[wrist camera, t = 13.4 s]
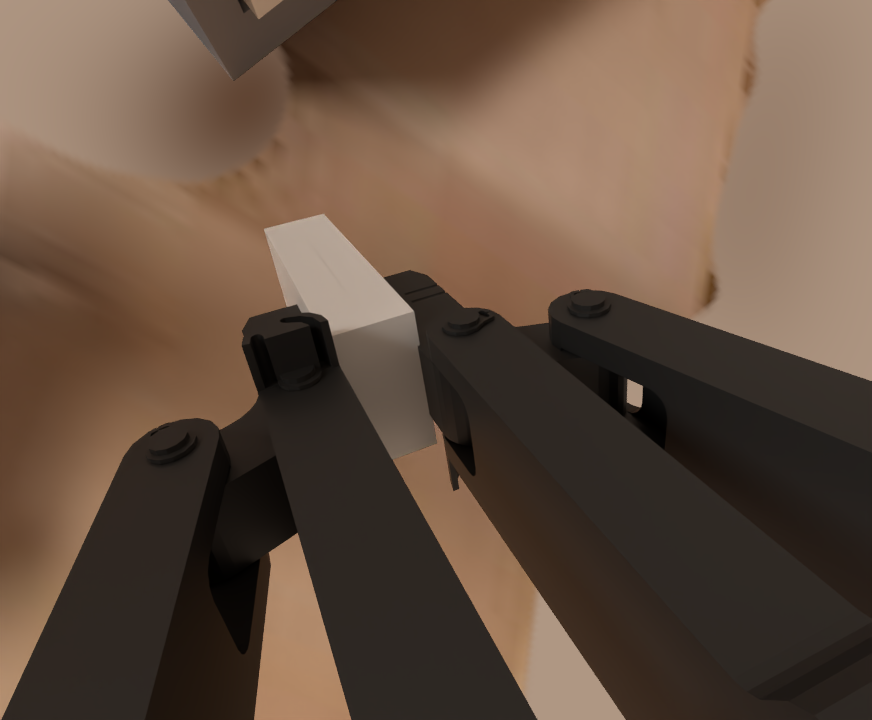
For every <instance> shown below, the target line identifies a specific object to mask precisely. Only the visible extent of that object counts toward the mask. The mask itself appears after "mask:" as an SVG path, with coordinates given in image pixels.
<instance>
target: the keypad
mask: <svg viewBox="0 0 872 720" xmlns="http://www.w3.org/2000/svg"><path fill="white" fill-rule="evenodd" d="M168 1H169V2H170V3H171V4H172V6H173V7H174V8H175V9H176V10H177V12H178V13H179V14H180V15H181V17H182V18H183V19H184V20H185V22H186V23H187V24H188V25H189V27H190V28H191V29H192V30H193V32H194V33H195V34H196V35H197V36H198V38H199V39H200V40H201V41H202V43H203V44H204V45H205V46H206V47H207V49H208V50H209V51H210V53H211V54H212V55H213V56H214V57H215V58H216V60H217V61H218V62H219V64H220V65H221V66H222V67H223V68H224V69H225V71H226V72H227V73H228V75H229V76H230V77H231V78H232V80H233V81H235V80H236V79H237V78H238V77H240V76H241V75H242V74H243V73H245V72H246V71H247V70H249V69H250V68H251V67H252V66H254V65H255V64H256V63H257V62H259V61H260V60H261V59H263V58H264V57H265V56H266V55H268V54H269V53H270V52H272V51H273V50H274V49H275V48H277V47H278V46H279V45H281V44H282V43H283V42H284V41H286V40H287V39H288V38H289V37H291V36H292V35H293V34H295V33H296V32H297V31H298V30H300V29H301V28H302V27H303V26H305V25H306V24H307V23H309V22H310V21H311V20H312V19H314V18H315V17H316V16H318V15H319V14H320V13H321V12H323V11H324V10H325V9H326V8H328V7H329V6H330V5H332V4H333V3H334V2H335V1H337V0H283V1H282V2H280V3H279V4H278V5H276V6H275V7H274V8H273V9H271V10H270V11H269V12H267V13H266V14H265V15H264V16H262V17H261V18H260V19H258V18H257V17H256V15H255V14H254V13H253V12H252V10H251V9H250V8H249V7H248V5H247V4H246V3H245V2H244V0H168Z"/></svg>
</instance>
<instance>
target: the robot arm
mask: <svg viewBox="0 0 872 720" xmlns="http://www.w3.org/2000/svg"><path fill="white" fill-rule="evenodd" d="M264 231H265V234H266V238H267V241H268V245H269V248H270V251H271V255H272V258H273V262H274V265H275V268H276V272H277V275H278V279H279V282H280V286H281V289H282V292H283V296H284V299H285V303H286V306H287V307H286V308H282V309H279V310H275V311H272V312H268V313H265V314H261V315H258V316H254V317H251V318H249V320H248V321H247V323H246V325H245V327H244V329H243V330H242V332H243V335H244V337H243V341H242V348H243V351H244V354H245V357H246V360H247V362H248V365H249V368H250V371H251V374H252V377H253V380H254V383H255V385H256V388H257V391H258V395H259V396H258V399H257V401H256V403H255V404H254V406H253V407H252V408H251V409H250V411H248V412H247V413H246V414H245V415H244V416H243V417H241V418H240V419H238V420H237V421H235V422H233V423H232V424H230V425H228V426H227V427H225V428H223V429H221V430H219V428H218V427H217V426H216V425H215V424H214V423H213V422H211V421H209V420H204V419H199V418H194V419H183V420H179V421H175V422H172V423H166V424H164V425H161V426H159V427H158V428H157V429H156V428H155V429H153V430H151V431H149V432H148V433H147V434H145V435H144V436H143V437H142V438H140V439H139V440H138V441H136V442H135V443H134V444H133V445H132V446H131V447H130V449H129V450H128V451H127V453H126V454H125V455H124V457H123V459H122V461H121V463H120V466H119V468H118V470H117V472H116V474H115V476H114V478H113V481H112V483H111V485H110V487H109V489H108V491H107V494H106V496H105V498H104V500H103V502H102V504H101V506H100V509H99V511H98V513H97V515H96V517H95V519H94V522H93V524H92V526H91V528H90V530H89V532H88V534H87V537H86V539H85V541H84V543H83V545H82V547H81V550H80V552H79V554H78V556H77V558H76V560H75V562H74V565H73V567H72V569H71V571H70V573H69V575H68V577H67V580H66V582H65V584H64V586H63V588H62V590H61V593H60V595H59V597H58V599H57V601H56V603H55V605H54V608H53V610H52V612H51V614H50V616H49V618H48V621H47V623H46V625H45V627H44V629H43V631H42V633H41V636H40V638H39V640H38V642H37V644H36V646H35V649H34V651H33V653H32V655H31V657H30V659H29V661H28V664H27V666H26V668H25V670H24V672H23V674H22V677H21V679H20V681H19V683H18V685H17V687H16V689H15V692H14V694H13V696H12V698H11V700H10V702H9V705H8V707H7V709H6V711H5V713H4V715H3V717H2V720H254V714H255V705H256V696H257V687H258V678H259V669H260V659H261V650H262V641H263V632H264V623H265V614H266V605H267V595H268V586H269V577H270V568H271V563H270V557H269V553H268V552H270V551H271V550H273V549H274V548H276V547H277V546H279V545H280V544H282V543H283V542H285V541H286V540H288V539H289V538H291V537H292V536H293V535H295V534H296V533H298V535H299V538H300V542H301V545H302V548H303V552H304V555H305V559H306V562H307V566H308V569H309V573H310V576H311V580H312V583H313V587H314V590H315V594H316V597H317V601H318V604H319V608H320V611H321V615H322V618H323V622H324V625H325V629H326V632H327V636H328V639H329V643H330V646H331V650H332V653H333V657H334V660H335V664H336V667H337V671H338V674H339V678H340V681H341V685H342V688H343V692H344V695H345V699H346V702H347V706H348V709H349V713H350V716H351V720H537V718H536V716H535V715H534V713H533V711H532V709H531V707H530V706H529V704H528V702H527V700H526V699H525V697H524V695H523V693H522V691H521V690H520V688H519V686H518V684H517V682H516V681H515V679H514V677H513V675H512V673H511V672H510V670H509V668H508V666H507V664H506V663H505V661H504V659H503V657H502V656H501V654H500V652H499V650H498V648H497V647H496V645H495V643H494V641H493V639H492V638H491V636H490V634H489V632H488V630H487V629H486V627H485V625H484V623H483V621H482V620H481V618H480V616H479V614H478V613H477V611H476V609H475V607H474V605H473V604H472V602H471V600H470V598H469V596H468V595H467V593H466V591H465V589H464V587H463V586H462V584H461V582H460V580H459V578H458V577H457V575H456V573H455V571H454V570H453V568H452V566H451V564H450V562H449V561H448V559H447V557H446V555H445V553H444V552H443V550H442V548H441V546H440V544H439V543H438V541H437V539H436V537H435V535H434V534H433V532H432V530H431V528H430V527H429V525H428V523H427V521H426V519H425V518H424V516H423V514H422V512H421V510H420V509H419V507H418V505H417V503H416V501H415V500H414V498H413V496H412V494H411V492H410V491H409V489H408V487H407V485H406V484H405V482H404V480H403V478H402V476H401V475H400V473H399V471H398V469H397V467H396V466H395V464H394V462H393V459H396V458H399V457H401V456H404V455H407V454H409V453H412V452H415V451H418V450H420V449H423V448H426V447H428V446H431V445H434V444H437V440H436V434H435V429H434V423H433V420H434V421H435V423H436V424H437V425H438V427H439V428H440V430H441V431H442V432H443V438H444V444H445V450H446V456H447V462H448V468H449V474H450V480H451V484H452V488H453V491H455V490H457V489H459V484H458V477H459V475H460V477H461V478H462V480H463V481H464V483H465V484H466V485H467V487H468V488H469V490H470V491H471V493H472V494H473V496H474V497H475V499H476V500H477V502H478V503H479V505H480V506H481V508H482V509H483V510H484V512H485V513H486V515H487V516H488V518H489V519H490V521H491V522H492V524H493V525H494V527H495V528H496V530H497V531H498V532H499V534H500V535H501V537H502V538H503V540H504V541H505V543H506V544H507V546H508V547H509V549H510V550H511V552H512V553H513V554H514V556H515V557H516V559H517V560H518V562H519V563H520V565H521V566H522V568H523V569H524V571H525V572H526V574H527V575H528V577H529V578H530V579H531V581H532V582H533V584H534V585H535V587H536V588H537V590H538V591H539V593H540V594H541V596H542V597H543V599H544V600H545V601H546V603H547V604H548V606H549V607H550V609H551V610H552V612H553V613H554V615H555V616H556V618H557V619H558V620H559V622H560V624H561V625H562V626H563V628H564V629H565V631H566V632H567V634H568V635H569V637H570V638H571V639H572V641H573V642H574V644H575V646H576V647H577V648H578V650H579V651H580V653H581V654H582V656H583V657H584V659H585V660H586V662H587V663H588V665H589V666H590V668H591V669H592V670H593V672H594V673H595V675H596V676H597V678H598V679H599V681H600V682H601V684H602V685H603V687H604V688H605V690H606V691H607V692H608V694H609V695H610V697H611V698H612V700H613V701H614V703H615V704H616V706H617V707H618V709H619V710H620V712H621V713H622V715H623V716H624V718H625V719H626V720H872V381H869V380H866V379H863V378H860V377H857V376H854V375H851V374H849V373H845V372H843V371H840V370H837V369H834V368H830V367H828V366H825V365H822V364H819V363H816V362H813V361H810V360H808V359H805V358H802V357H798V356H796V355H793V354H790V353H787V352H784V351H781V350H778V349H775V348H772V347H769V346H766V345H764V344H761V343H758V342H755V341H752V340H749V339H746V338H743V337H740V336H737V335H734V334H731V333H728V332H726V331H723V330H720V329H716V328H714V327H711V326H708V325H705V324H702V323H699V322H696V321H693V320H690V319H688V318H685V317H682V316H679V315H676V314H673V313H670V312H667V311H664V310H661V309H658V308H655V307H652V306H649V305H647V304H644V303H641V302H638V301H635V300H632V299H629V298H626V297H623V296H620V295H617V294H614V293H609V292H605V291H593V290H590V289H585V290H580V291H579V290H577V291H573V292H570V293H568V294H566V295H563V296H560V297H558V298H557V299H555V300H554V301H553V302H551V304H550V306H549V309H548V316H549V323H544V324H536V325H529V326H521V327H514V326H512V325H511V324H510V323H509V322H508V321H506V320H505V319H504V318H503V317H502V316H500V315H499V314H497V313H495V312H493V311H491V310H488V309H482V308H464V307H462V306H461V305H460V304H459V303H458V302H457V301H456V300H455V299H453V298H452V297H451V296H450V295H449V294H448V293H445V291H444V290H443V289H442V288H441V287H440V286H437V284H436V283H435V282H434V281H433V280H432V279H431V278H430V277H429V276H427V275H425V274H421V273H418V272H414V271H411V270H409V271H405V272H402V273H398V274H395V275H391V276H388V277H384V278H383V277H382V276H381V275H380V274H379V273H378V272H377V271H376V270H375V269H374V268H373V267H372V265H371V264H370V263H369V262H368V261H367V260H366V259H365V258H364V257H363V256H362V255H361V254H360V253H359V251H358V250H357V249H356V248H355V247H354V246H353V245H352V244H351V243H350V242H349V241H348V240H347V239H346V238H345V236H344V235H343V234H342V233H341V232H340V231H339V230H338V229H337V228H336V227H335V226H334V225H333V224H332V222H331V221H330V220H329V219H328V218H327V217H326V216H325V215H324V214H321V215H317V216H313V217H309V218H305V219H301V220H297V221H293V222H289V223H285V224H281V225H277V226H273V227H269V228H265V229H264ZM627 379H629V380H631V381H633V382H636V383H638V384H640V385H642V386H643V399H642V407H640V408H639V407H636V406H633V405H631V404H629V403H627Z"/></svg>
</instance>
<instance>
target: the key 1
mask: <svg viewBox="0 0 872 720" xmlns="http://www.w3.org/2000/svg"><path fill="white" fill-rule="evenodd" d="M282 1H283V0H244V2H245V3H246V4H247V5H248V7H249V8H250V9H251V10H252V12H253V13H254V14H255V15H256V17H257V18H258V19H260V18H261V17H262V16H264V15H265V14H266V13H267V12H269V11H270V10H271V9H273V8H274V7H275V6H276V5H278V4H279V3H280V2H282Z"/></svg>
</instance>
